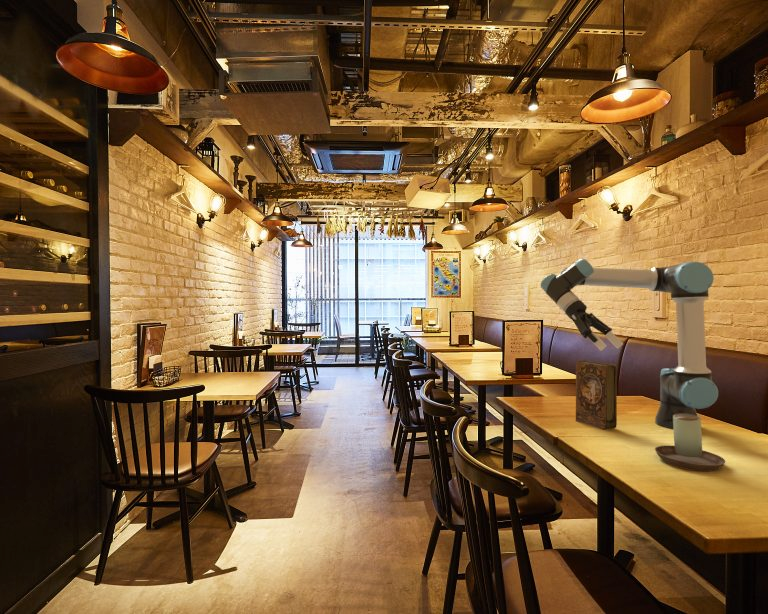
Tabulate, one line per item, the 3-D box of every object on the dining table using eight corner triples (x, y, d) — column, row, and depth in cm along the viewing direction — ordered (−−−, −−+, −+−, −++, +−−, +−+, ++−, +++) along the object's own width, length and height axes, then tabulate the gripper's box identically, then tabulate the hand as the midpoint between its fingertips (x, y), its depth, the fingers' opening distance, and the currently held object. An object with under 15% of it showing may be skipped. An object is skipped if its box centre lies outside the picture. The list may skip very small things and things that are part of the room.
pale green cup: (688, 446, 138) (686, 411, 137) (708, 454, 131) (706, 418, 130) (669, 449, 137) (667, 414, 136) (688, 458, 130) (686, 421, 129)
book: (573, 420, 185) (573, 361, 185) (583, 419, 187) (583, 360, 187) (606, 430, 169) (606, 365, 169) (616, 429, 171) (616, 365, 171)
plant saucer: (720, 460, 137) (720, 451, 137) (730, 479, 122) (730, 468, 122) (654, 451, 146) (654, 442, 146) (655, 467, 131) (655, 457, 131)
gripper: (581, 312, 180) (619, 352, 169) (548, 313, 164) (588, 356, 153) (594, 299, 176) (634, 339, 165) (562, 298, 160) (604, 342, 149)
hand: (612, 347), depth 159 cm, fingers open, 13 cm apart
